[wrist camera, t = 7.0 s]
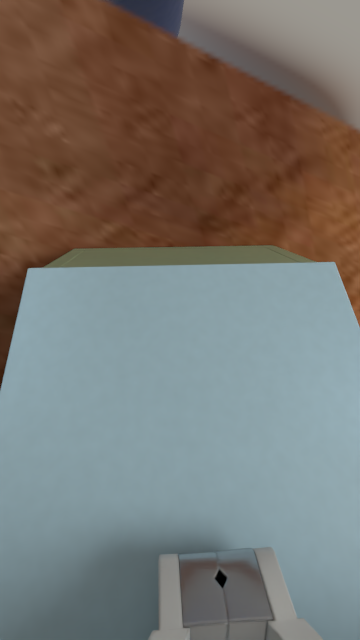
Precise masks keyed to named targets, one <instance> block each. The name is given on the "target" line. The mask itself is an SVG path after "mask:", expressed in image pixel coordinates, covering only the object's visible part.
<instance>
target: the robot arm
mask: <svg viewBox="0 0 360 640" xmlns="http://www.w3.org/2000/svg"><path fill="white" fill-rule="evenodd" d="M158 611H159V630H153V631H152V632H151V634H150V636H149V638H148V640H323V638H322V637H321V636H320V635H319V634H318V633H317V632H316V631H315V630H314V629H313V628H312V627H311V626H310V624H309V623H308V622H307V621H306V620H305V619H304V618H297V615H296V612H295V610H294V607H293V604H292V601H291V598H290V595H289V592H288V589H287V586H286V583H285V580H284V577H283V574H282V571H281V569H280V566H279V563H278V560H277V557H276V554H275V551H274V550H273V549H272V547H263V548H253V549H252V548H243V549H232V550H221V551H215V552H199V553H179V554H178V553H176V554H162V555H159V560H158Z"/></svg>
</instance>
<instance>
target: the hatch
mask: <svg viewBox="0 0 360 640" xmlns="http://www.w3.org/2000/svg"><path fill="white" fill-rule="evenodd" d="M263 547H272V549H273V550H274V551H275V554H276V557H277V560H278V563H279V566H280V569H281V571H282V574H283V577H284V580H285V583H286V586H287V589H288V592H289V595H290V598H291V601H292V604H293V607H294V610H295V612H296V615H297V618H304V619H305V620H306V621H307V622H308V623H309V624H310V626H311V627H312V628H313V629H314V630H315V631H316V632H317V633H318V634H319V635H320V636H321V637H322V638H323V640H360V327H359V325H358V322H357V319H356V317H355V314H354V311H353V309H352V306H351V304H350V301H349V298H348V296H347V293H346V290H345V288H344V285H343V283H342V280H341V277H340V275H339V272H338V269H337V267H336V264H335V262H306V263H256V264H207V265H157V266H108V267H58V268H28V270H27V275H26V279H25V284H24V288H23V292H22V297H21V301H20V306H19V310H18V314H17V319H16V323H15V328H14V332H13V336H12V341H11V345H10V350H9V354H8V358H7V363H6V367H5V372H4V376H3V380H2V385H1V389H0V640H148V638H149V636H150V634H151V632H152V631H153V630H159V611H158V560H159V555H162V554H176V553H178V554H179V553H199V552H215V551H221V550H232V549H243V548H252V549H253V548H263Z"/></svg>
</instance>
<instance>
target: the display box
mask: <svg viewBox="0 0 360 640" xmlns="http://www.w3.org/2000/svg"><path fill="white" fill-rule="evenodd" d="M306 262H315V261H312V260H310V259H307V258H305V257H302V256H300V255H297V254H294V253H292V252H289V251H287V250H284V249H281V248H279V247H276V246H273V245H265V246H207V247H148V248H90V249H73V250H71V251H70V252H68V253H66V254H65V255H63V256H61V257H60V258H58V259H56V260H55V261H53V262H51V263H49V264H48V265H46V266H44V267H43V268H58V267H108V266H157V265H207V264H256V263H306Z"/></svg>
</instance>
